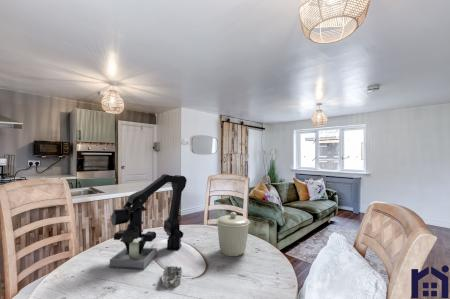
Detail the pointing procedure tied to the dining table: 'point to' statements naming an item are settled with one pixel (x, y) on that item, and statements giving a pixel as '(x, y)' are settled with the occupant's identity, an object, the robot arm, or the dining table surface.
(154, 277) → the dining table surface
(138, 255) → the pale green cylinder
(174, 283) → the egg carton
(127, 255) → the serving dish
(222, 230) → the canister
